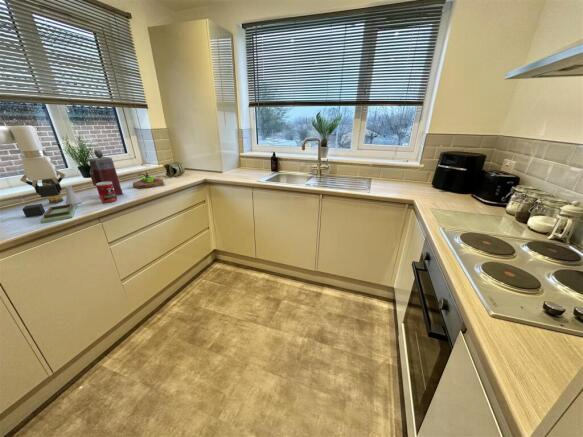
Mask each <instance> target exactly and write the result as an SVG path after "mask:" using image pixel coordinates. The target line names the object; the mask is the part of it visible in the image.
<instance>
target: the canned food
mask: <svg viewBox="0 0 583 437" xmlns="http://www.w3.org/2000/svg"><path fill="white" fill-rule="evenodd" d="M95 187H96V189H97V192H98V195H99V199H100V201H101V202H102V204H110V203H115V202H117V201H118V197H117V196H116V193H115V190H114V187H113V184H112V182H110V181H107V182H100V183H97V184H96V186H95Z"/></svg>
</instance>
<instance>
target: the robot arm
mask: <svg viewBox="0 0 583 437" xmlns="http://www.w3.org/2000/svg"><path fill="white" fill-rule="evenodd" d="M12 144H16V145H17V148H18V150H19V152H20V154H21V157H22V158H21V163H22V167H23V171H24V174H23V175H22V176H21V178H20V179H19V181H20V182H22V183H25V184H27V185H29V186H31V187H33V188H34V190H35V193H36V194H38V195H39V196H40V193H39V191H38V189H37V188H38V187H40V186H41V185H39V184H38V181H42V180H45V179H52V180H53V181H54V182H55V186H56V189H57V191H58V192H61V193H62V190H63V188H62V186H61V182H62V180H63V179H64V178H65V177H66V173H63V172H61V171H60V170H58V169H57V168H56V165H55V164H54V163H53V162H54V161H52V159H51V157H50V156H47V155H50V151H49V150H45V149H44V146H43V144H42V142H41V139H40V136H39V135H38V132H37V130H36V128H35V127H34V126H32V125H0V146H1V145H12ZM59 176H60V177H59ZM57 177H58V178H57Z"/></svg>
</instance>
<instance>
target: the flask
mask: <svg viewBox="0 0 583 437" xmlns="http://www.w3.org/2000/svg"><path fill="white" fill-rule="evenodd" d="M63 188H64V189H65V193H66V194H65V196H66V198H65V205H68V204H73V205H75V204H76V205H77V204H81V203H83V201H82V199H80V198H79V196H78V195H77V194H76V193H75V191H74V190H73V188H72V185H66V186H63Z"/></svg>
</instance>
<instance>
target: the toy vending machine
mask: <svg viewBox="0 0 583 437" xmlns="http://www.w3.org/2000/svg"><path fill="white" fill-rule="evenodd" d="M94 155H95V157H91V158H88V162H89V167H90V169H89V176H90V179H91V182H92V185H93V186H94V187H96V184H97V183H100V182H107V181H110V182H112V184H113V187H114V190H115V193H116V197H117V196H121V195H124V193H123V190H122V187H121V183H120V181H119V180H120V179H119V176H118V174H117V171H116V167H115V164H114V161H113V158H112V157H111V156H103V151H102V150H100V149H95V150H94Z"/></svg>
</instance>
